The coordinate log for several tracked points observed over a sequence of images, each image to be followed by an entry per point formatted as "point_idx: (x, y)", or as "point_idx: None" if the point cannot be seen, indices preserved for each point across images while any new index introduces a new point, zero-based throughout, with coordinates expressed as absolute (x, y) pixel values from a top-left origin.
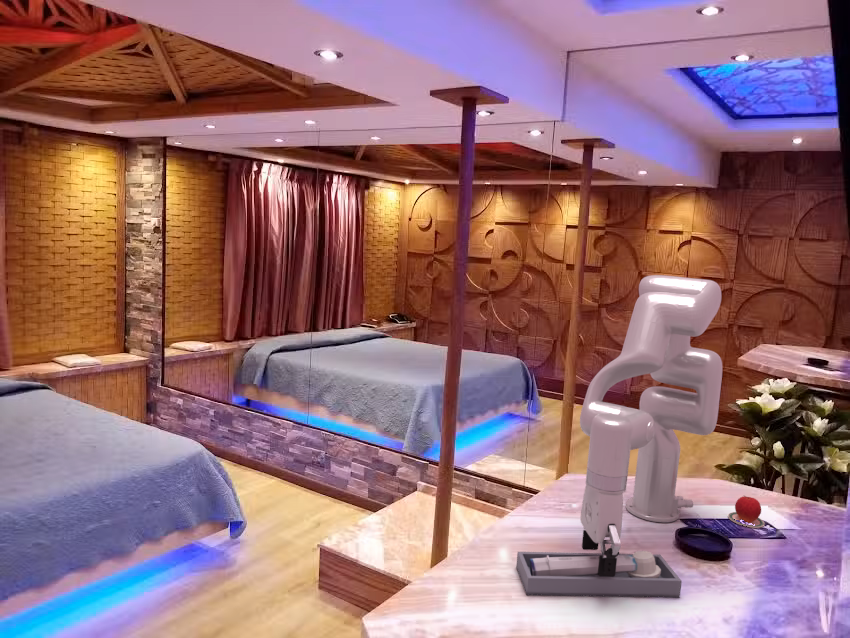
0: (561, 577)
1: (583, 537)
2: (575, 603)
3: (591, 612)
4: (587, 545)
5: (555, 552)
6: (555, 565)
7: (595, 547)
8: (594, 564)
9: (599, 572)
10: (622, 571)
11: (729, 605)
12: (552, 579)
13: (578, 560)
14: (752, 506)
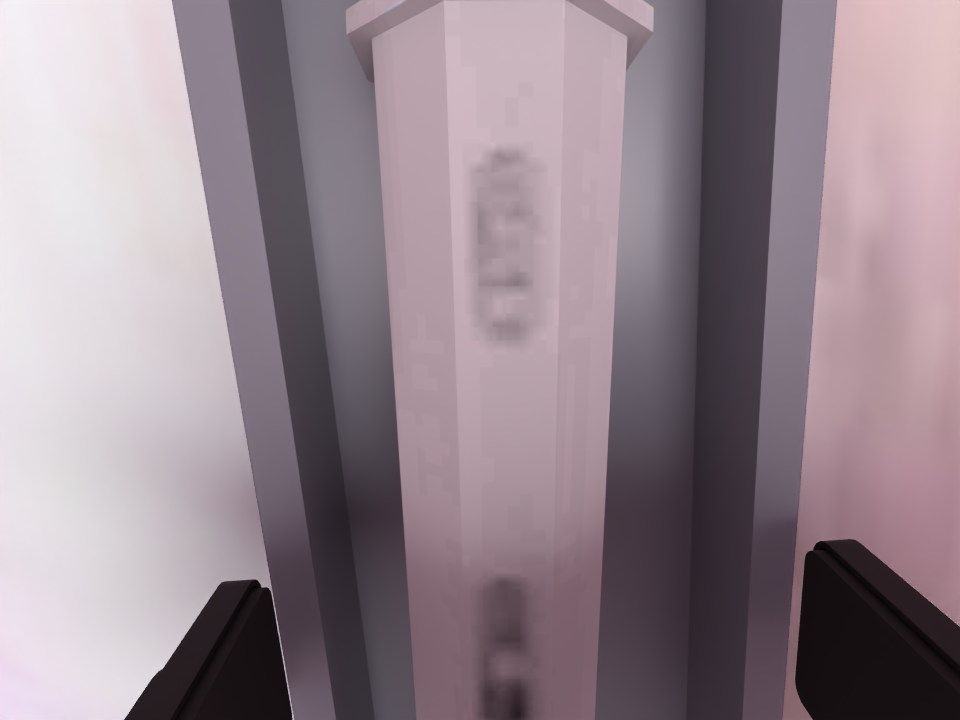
0: (224, 144)
1: (939, 642)
2: (183, 277)
3: (83, 379)
4: (833, 620)
5: (819, 194)
6: (407, 90)
7: (811, 692)
8: (426, 593)
9: (209, 610)
10: None
11: None
12: (181, 16)
13: (454, 423)
14: None
